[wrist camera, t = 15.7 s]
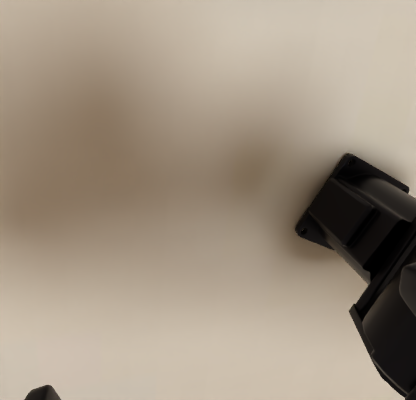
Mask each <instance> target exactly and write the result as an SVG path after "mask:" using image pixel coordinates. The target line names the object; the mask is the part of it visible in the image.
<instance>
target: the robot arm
mask: <svg viewBox="0 0 416 400" xmlns="http://www.w3.org/2000/svg"><path fill="white" fill-rule="evenodd" d="M350 160H352V161H351V163H350V164H348V163H349V161H350ZM408 193H409V187H408V186H406V185H404V184H403V183H401V182H399V181H397V180H396V179H394V178H392V177H391V176H389V175H387V174H385V173H384V172H382V171H380V170H379V169H377V168H375V167H373V166H372V165H370V164H368V163H367V162H365V161H363V160H361V159H360V158H358V157H356V156H355V155H353V154H347V155H346V156H344V157H343V159H342V160H341V162H340V163H339V165H338V166H337V167H336V169H335V170H334V172H333V173H332V175H331V176H330V178H329V179H328V181H327V182H326V183H325V185H324V186H323V188H322V189H321V191H320V192H319V194H318V195H317V197H316V198H315V199H314V201H313V202H312V204H311V205H310V207H309V208H308V210H307V211H306V213H305V214H304V215H303V217H302V218H301V220H300V221H299V223H298V224H297V226H296V228H295V232H296V233H297V234H298V236H300V237H302V238H304V239H307V240H309V241H312V242H314V243H317V244H320V245H322V246H325V247H327V248H330V249H332V250H335V251H336V252H337V253H338V254H339V255H340V256H341V257H342V258H343V259H344V260H345V261H346V262H347V263H348V264H349V265H350V266H351V267H352V268H353V269H354V270H355V271H356V272H357V273H358V274H359V275H360V276H361V277H362V278H363V279H364V280H365V281H366V282H367V284H368V287H367V288H366V290H365V291H364V293H363V294H362V295H361V297H360V298H359V300H358V301H357V303H356V304H353V306H352V307H351V309H350V310H349V313H350V315H351V317H352V319H353V321H354V323H355V325H356V328H357V330H358V332H359V334H360V336H361V338H362V340H363V342H364V345H365V347H366V349H367V351H368V353H369V355H370V357H371V359H372V362H373V364H374V365H375V367H376V369H377V371H378V372H379V374H380V376H381V377H382V378H383V379H384V380H385V381H386V382H387V383H388V384H389V385H390V386H391V387H392V388H393V389H395V390H396V391H397V392H398V393H399V394H400V395H402V396H403V397H405V400H416V198H414V197H412V196H410V195H409V194H408ZM303 228H304V230H303V231H301V230H302V229H303ZM25 400H61V399H60V397H59V396H58V394H57V393H56V391H55V390H54V388H53V387H52V386H51V385H45V386H42V387H39V388H36V389H33V390H32V391H30V392H29V394H28V395H27V396H26V398H25Z"/></svg>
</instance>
